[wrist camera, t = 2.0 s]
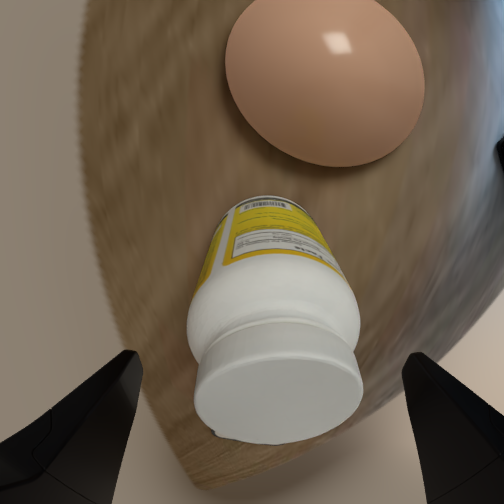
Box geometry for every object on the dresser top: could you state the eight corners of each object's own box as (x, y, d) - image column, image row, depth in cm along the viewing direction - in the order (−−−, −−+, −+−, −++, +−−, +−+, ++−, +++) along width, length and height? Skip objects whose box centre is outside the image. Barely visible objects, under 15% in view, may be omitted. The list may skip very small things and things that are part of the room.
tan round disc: (445, 107, 12) (452, 108, 12) (311, 202, 15) (314, 206, 15) (338, -34, 9) (342, -40, 8) (185, 53, 12) (181, 49, 11)
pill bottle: (257, 304, 18) (256, 464, 9) (193, 235, 16) (120, 390, 6) (337, 252, 17) (411, 404, 7) (278, 170, 15) (323, 275, 5)
